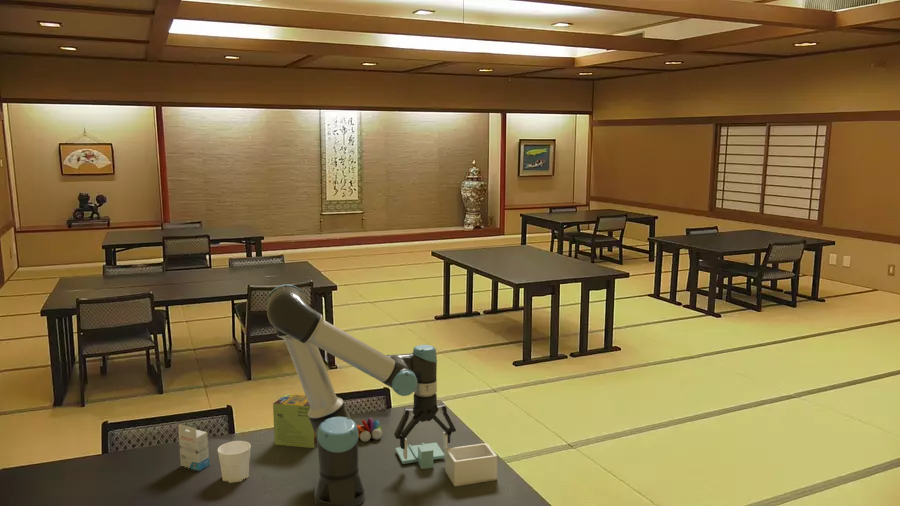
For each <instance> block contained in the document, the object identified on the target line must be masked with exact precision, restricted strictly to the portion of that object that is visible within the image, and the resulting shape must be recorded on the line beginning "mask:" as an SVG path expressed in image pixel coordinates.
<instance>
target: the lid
mask: <svg viewBox="0 0 900 506" xmlns="http://www.w3.org/2000/svg"><path fill="white" fill-rule="evenodd" d="M395 452H396V454H397V456H398V458H399V459H400V462H401V464H402V465H405V464H412V463H417V464H418V466H419V467H420V469H421V470H427V469H434V468H435V467H434V460H439V459H445V453H444V451H443V449H441V447H440V446H439V444H438V442H428V443H425V442H421V444H416V445H411V444H410V443H409V444H408V445H407V459H405V458H404V457H403V449H401V447H400V446H399V447H395Z"/></svg>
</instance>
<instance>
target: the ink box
mask: <svg viewBox="0 0 900 506" xmlns="http://www.w3.org/2000/svg"><path fill="white" fill-rule="evenodd" d="M177 426H178V428H177V429H178V444H179V455H180V456H179V458H180V466H181V467H182V466H185V467H184V468H186V467H188V468H187V469H189V468H191V469H190V470H193V469H194V470H193V471H196V470H197V471H196V472H200V471H202V470H204V469H205V468H208V467H209V466H210V453H209V439H208V438H209V437H208V431H203V430H199V429H196V427H191V426H188V425H184V424H180V423H179V424H178V425H177Z"/></svg>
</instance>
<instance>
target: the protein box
mask: <svg viewBox="0 0 900 506" xmlns="http://www.w3.org/2000/svg"><path fill="white" fill-rule="evenodd" d="M272 409H273V410H272V411H273V413H272V414H273V434H274V436H273V440H274V441H273V442H274V445H275V446H276V445H277V446H284V445H285V446H286V447H294V448H295V447H298V448H308V449H315V448H316V447H318V445H317V440H316V436H315V433H314V430H313V427H312V425H311V422H310V419H309V417H308V411H309V409H310V405H309V403H308V400H307V398H306V395H305V394H296V393H295V394H294V393H285V394H284V395H283V396H281V397H280V398H278V399H277V400H276V401H274V403H272Z"/></svg>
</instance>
